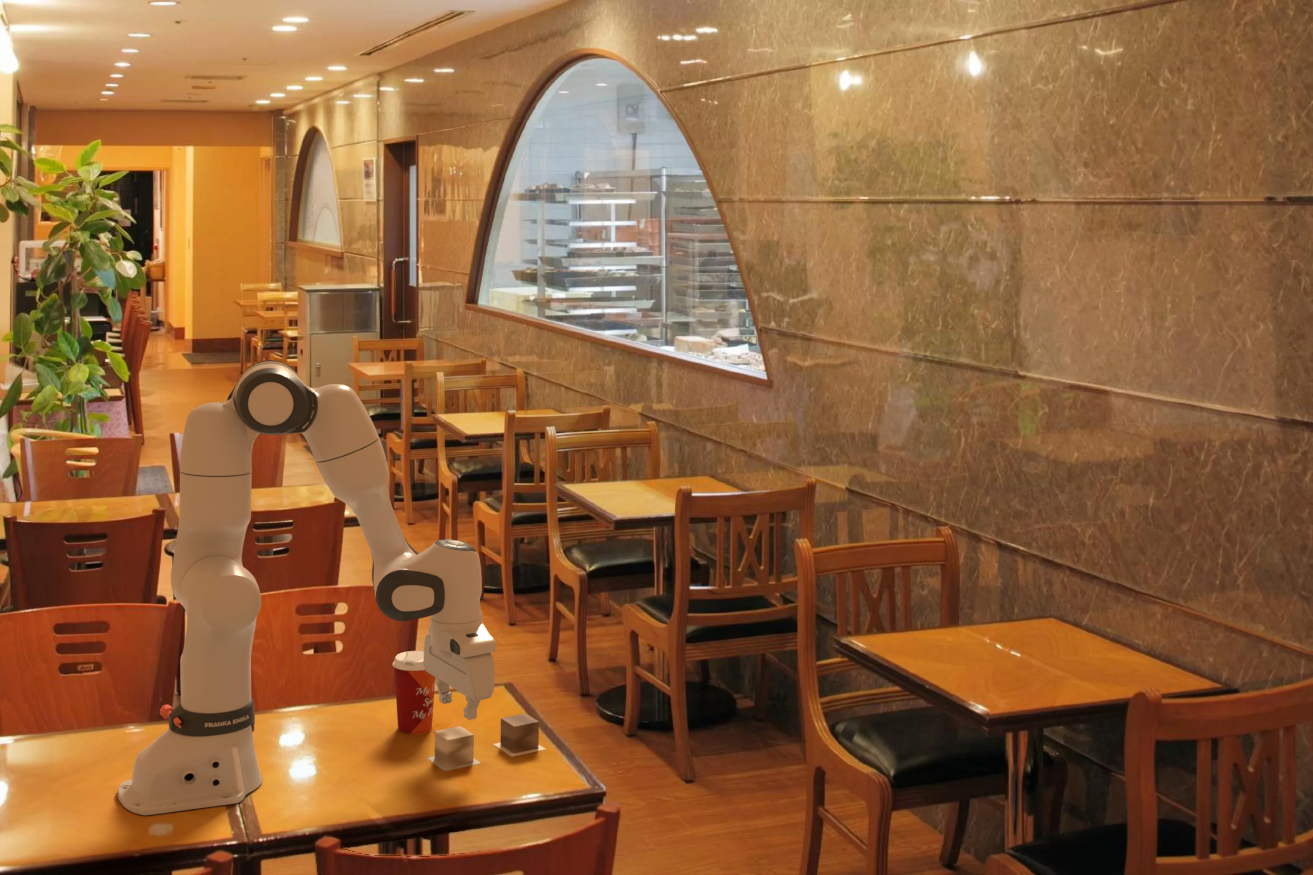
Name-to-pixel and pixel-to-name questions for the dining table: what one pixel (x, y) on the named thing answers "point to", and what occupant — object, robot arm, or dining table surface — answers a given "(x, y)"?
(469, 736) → the maple block
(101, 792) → the dining table surface
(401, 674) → the coffee cup
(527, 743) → the walnut block
